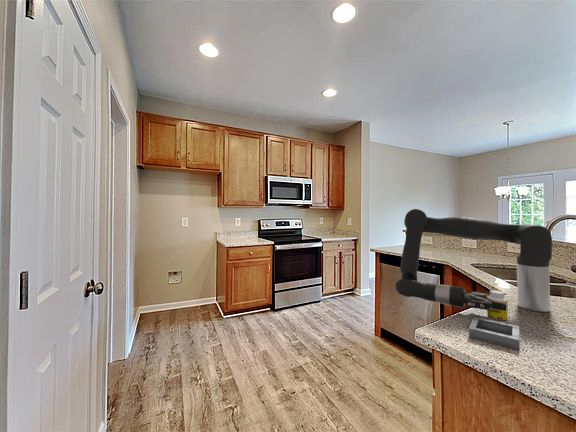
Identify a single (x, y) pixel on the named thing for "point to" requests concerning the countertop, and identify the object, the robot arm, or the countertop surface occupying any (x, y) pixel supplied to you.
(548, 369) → the countertop surface
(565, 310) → the countertop surface
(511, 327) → the square grey bottle holder
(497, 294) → the supplement bottle
